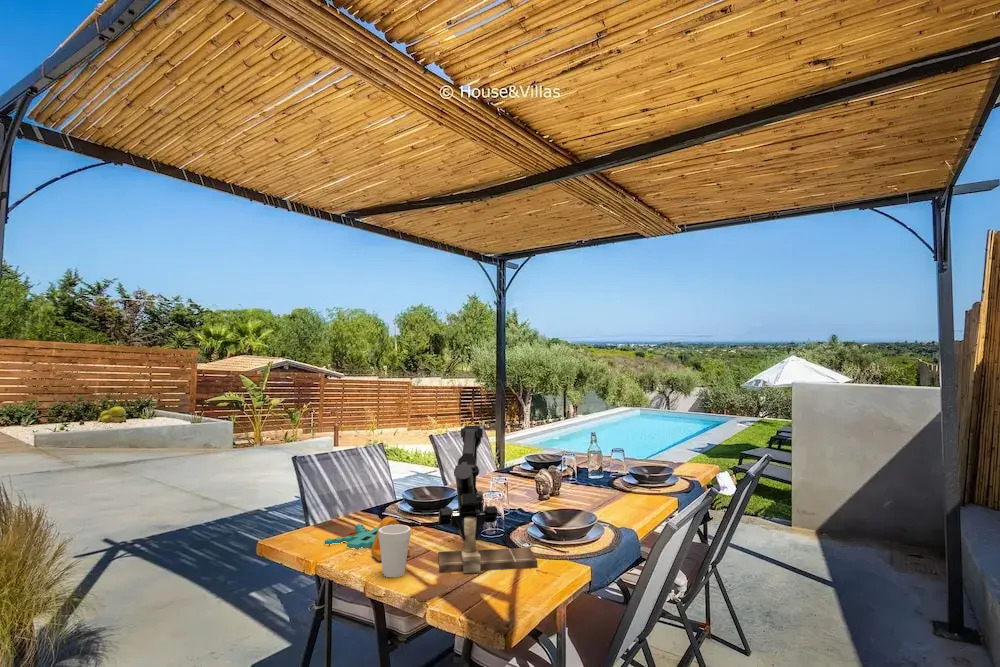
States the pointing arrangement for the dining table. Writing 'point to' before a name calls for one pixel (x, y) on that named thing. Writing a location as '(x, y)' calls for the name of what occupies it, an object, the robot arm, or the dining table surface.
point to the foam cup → (394, 549)
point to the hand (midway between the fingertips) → (470, 540)
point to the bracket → (376, 545)
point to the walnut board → (489, 559)
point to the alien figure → (357, 538)
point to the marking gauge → (470, 547)
